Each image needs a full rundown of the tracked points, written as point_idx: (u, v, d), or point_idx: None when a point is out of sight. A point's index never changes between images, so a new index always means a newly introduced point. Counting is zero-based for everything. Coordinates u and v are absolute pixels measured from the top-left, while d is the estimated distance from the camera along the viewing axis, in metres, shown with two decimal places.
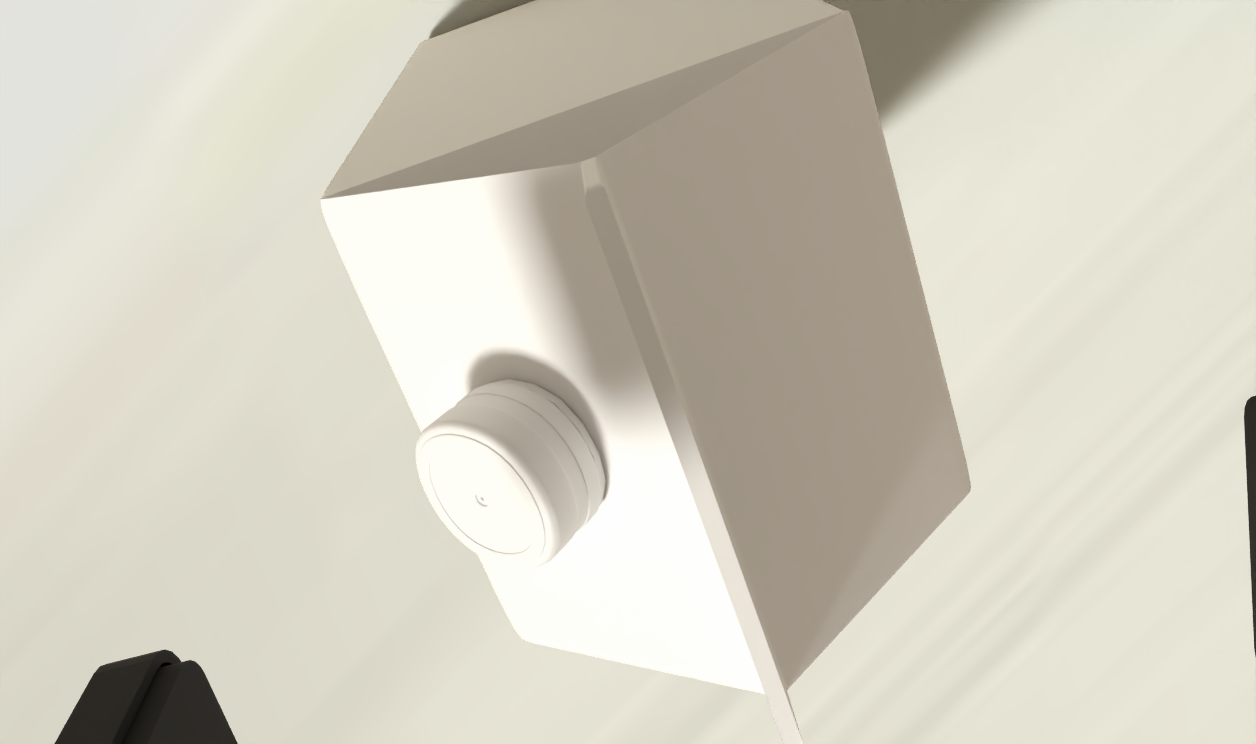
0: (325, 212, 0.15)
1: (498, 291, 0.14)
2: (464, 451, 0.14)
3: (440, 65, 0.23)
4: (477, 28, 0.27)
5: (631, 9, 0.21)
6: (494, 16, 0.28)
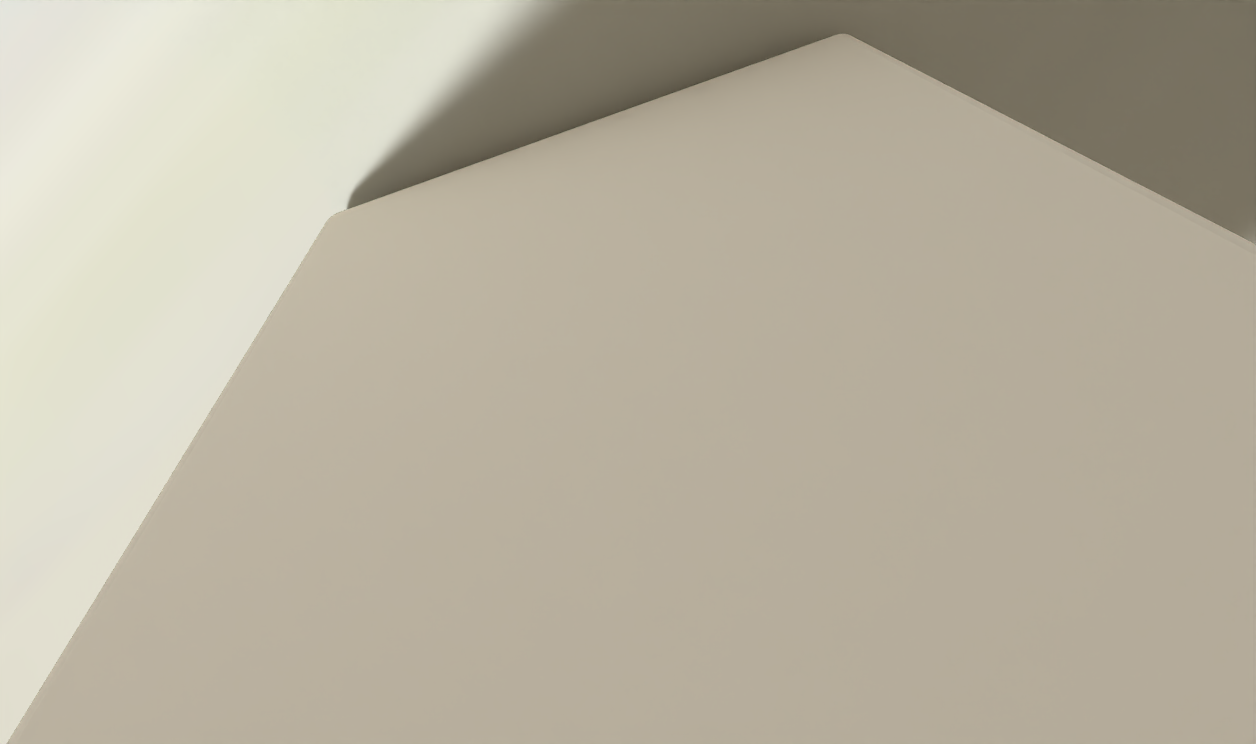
0: None
1: None
2: None
3: (323, 359, 0.10)
4: (428, 210, 0.14)
5: (797, 283, 0.08)
6: (464, 174, 0.15)
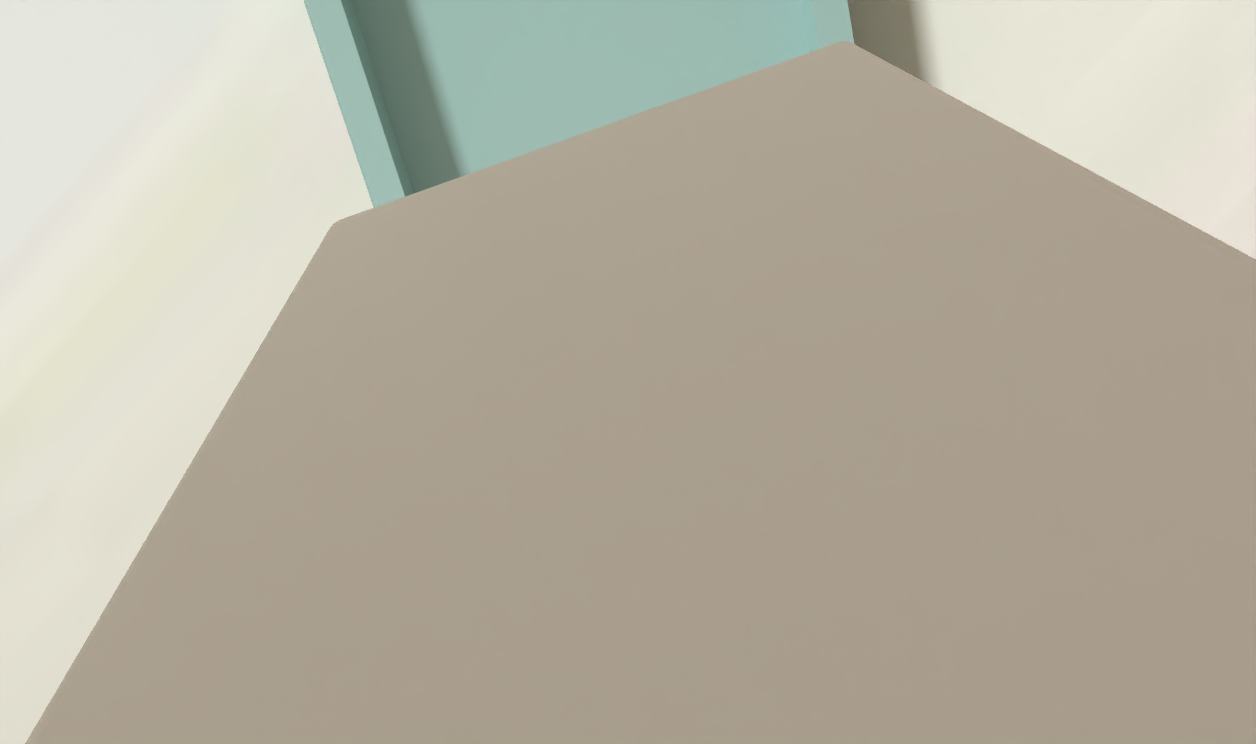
0: None
1: None
2: None
3: (328, 369, 0.10)
4: (431, 218, 0.14)
5: (801, 296, 0.08)
6: (467, 182, 0.15)
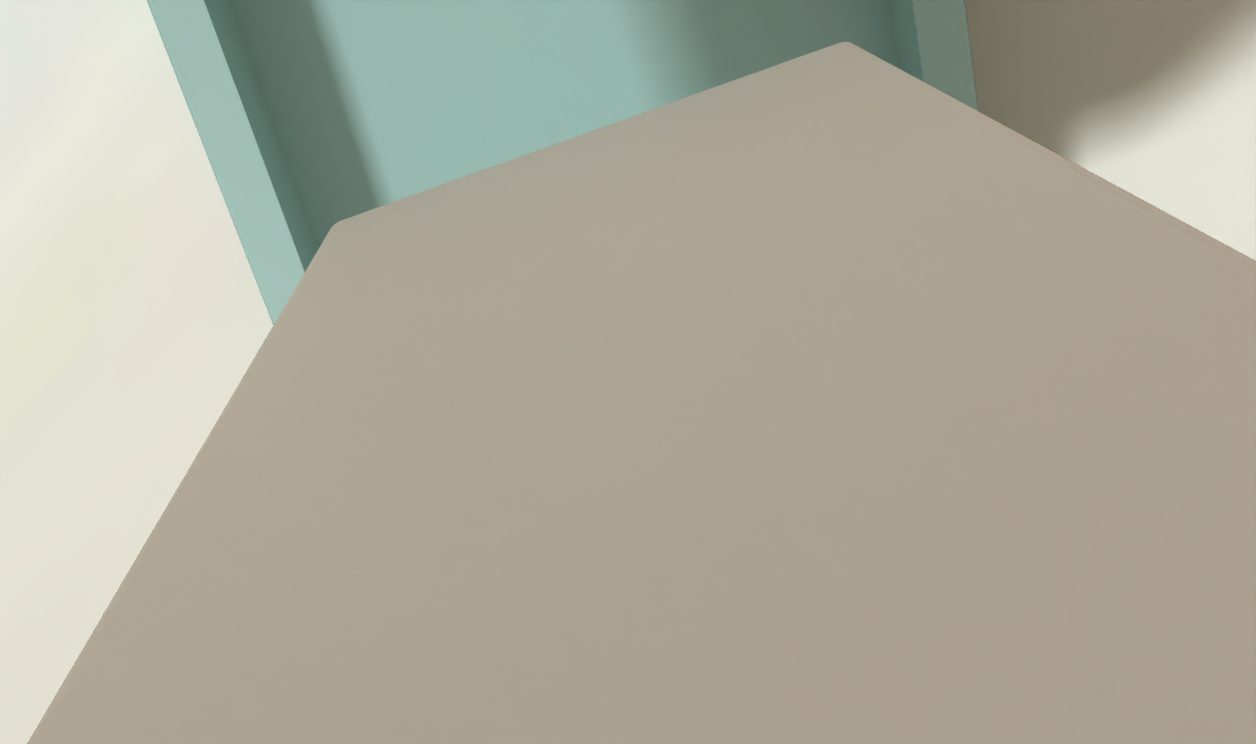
0: None
1: None
2: None
3: (328, 371, 0.10)
4: (432, 218, 0.14)
5: (801, 297, 0.08)
6: (467, 183, 0.15)
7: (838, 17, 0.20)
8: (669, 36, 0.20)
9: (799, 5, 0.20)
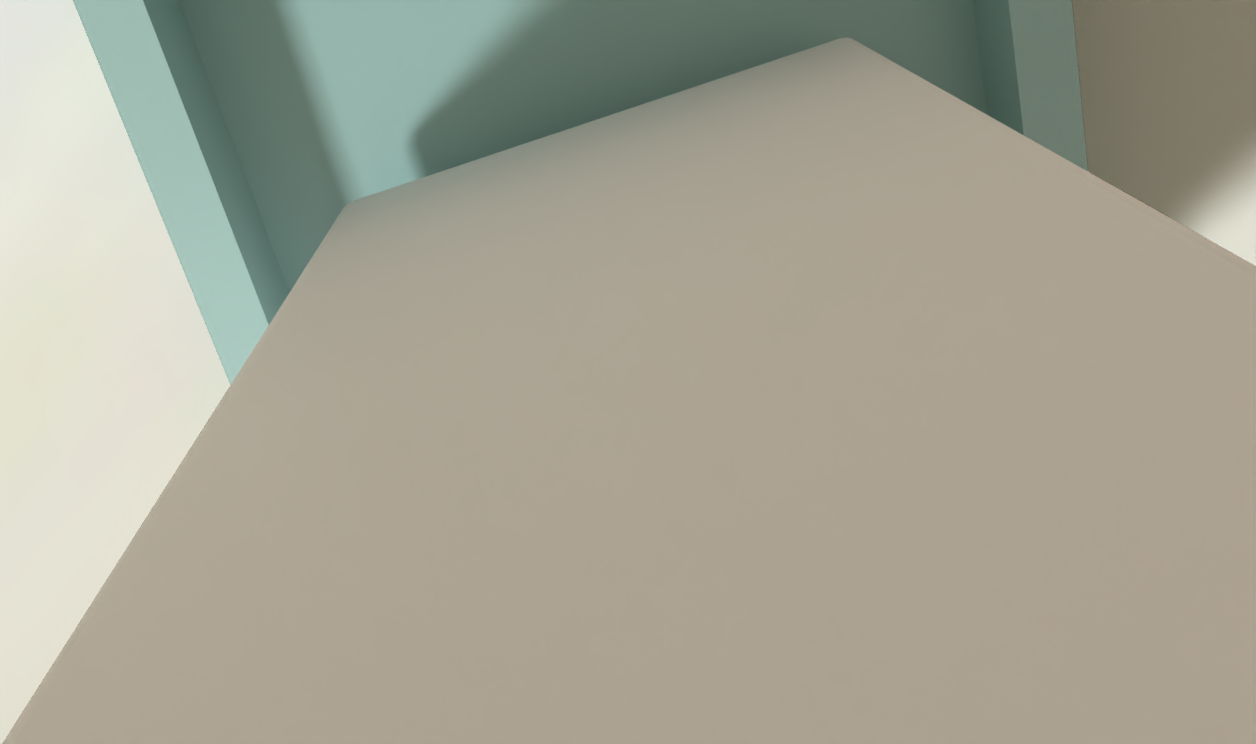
0: None
1: None
2: None
3: (339, 337, 0.11)
4: (441, 199, 0.14)
5: (788, 271, 0.09)
6: (477, 166, 0.15)
7: (919, 64, 0.17)
8: None
9: None
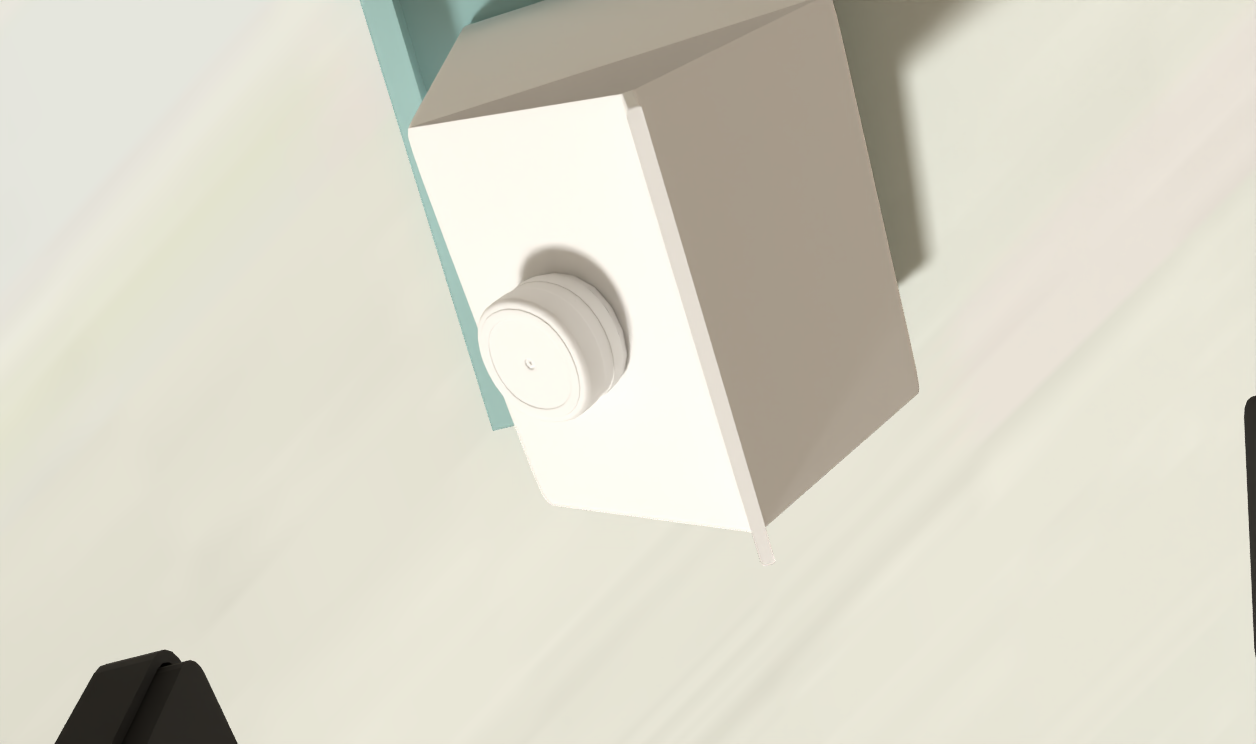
0: (411, 139, 0.19)
1: (550, 199, 0.18)
2: (519, 323, 0.18)
3: (487, 41, 0.27)
4: (515, 15, 0.31)
5: None
6: (529, 6, 0.32)
7: None
8: None
9: None
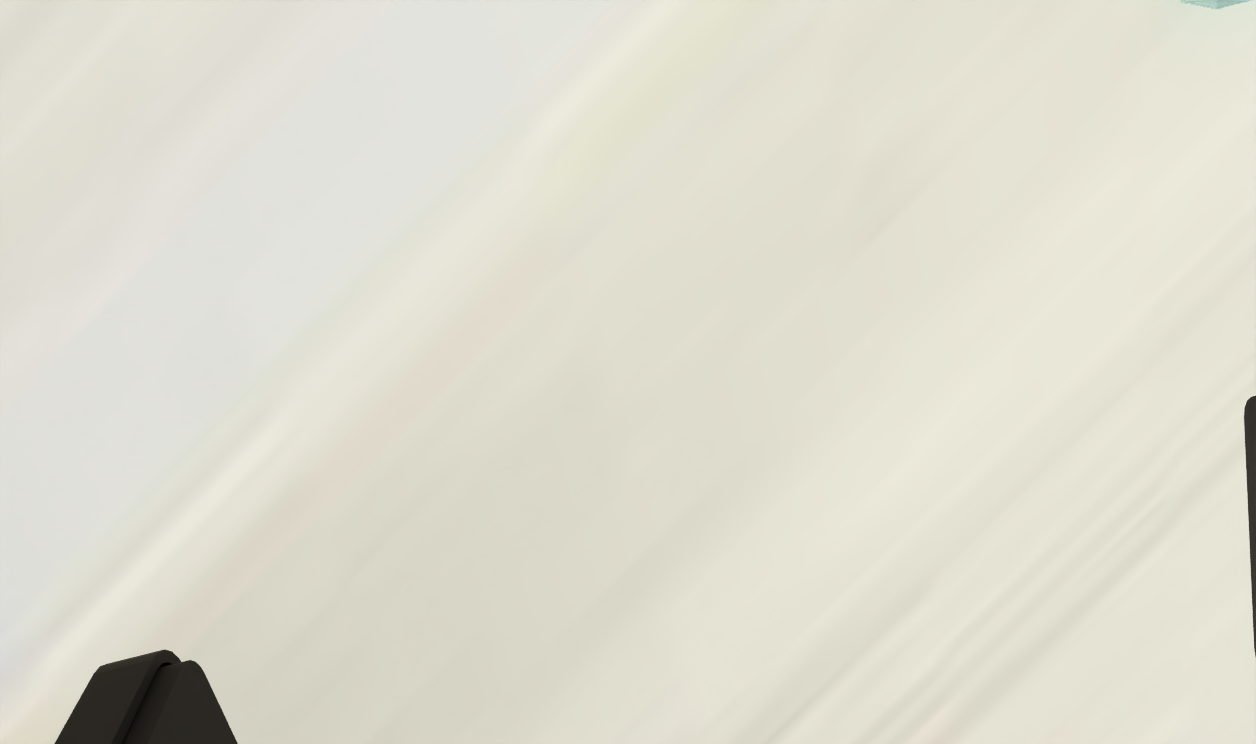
0: None
1: None
2: None
3: None
4: None
5: None
6: None
7: None
8: None
9: None
